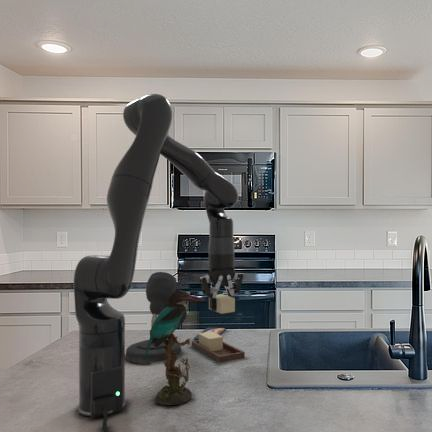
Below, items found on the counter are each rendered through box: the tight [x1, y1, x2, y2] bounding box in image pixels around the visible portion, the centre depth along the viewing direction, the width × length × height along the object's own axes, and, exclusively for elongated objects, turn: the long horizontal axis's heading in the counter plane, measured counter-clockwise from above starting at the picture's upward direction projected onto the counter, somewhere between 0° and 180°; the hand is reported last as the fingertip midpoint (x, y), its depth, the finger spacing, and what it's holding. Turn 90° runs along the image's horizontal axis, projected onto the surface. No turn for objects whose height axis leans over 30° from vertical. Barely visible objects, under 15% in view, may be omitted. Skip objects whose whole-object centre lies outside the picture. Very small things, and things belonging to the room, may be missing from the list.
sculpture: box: [143, 289, 205, 406], centre depth 103 cm, size 8×14×25 cm, turn 86°
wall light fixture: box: [125, 271, 182, 365], centre depth 138 cm, size 16×25×20 cm
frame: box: [191, 340, 246, 363], centre depth 137 cm, size 20×8×2 cm, turn 35°
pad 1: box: [208, 293, 236, 315], centre depth 133 cm, size 8×4×4 cm, turn 36°
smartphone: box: [193, 327, 227, 341], centre depth 157 cm, size 8×1×15 cm
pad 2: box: [198, 331, 224, 351], centre depth 141 cm, size 8×4×4 cm, turn 35°
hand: (221, 309), depth 133 cm, fingers closed on pad 1, 4 cm apart
